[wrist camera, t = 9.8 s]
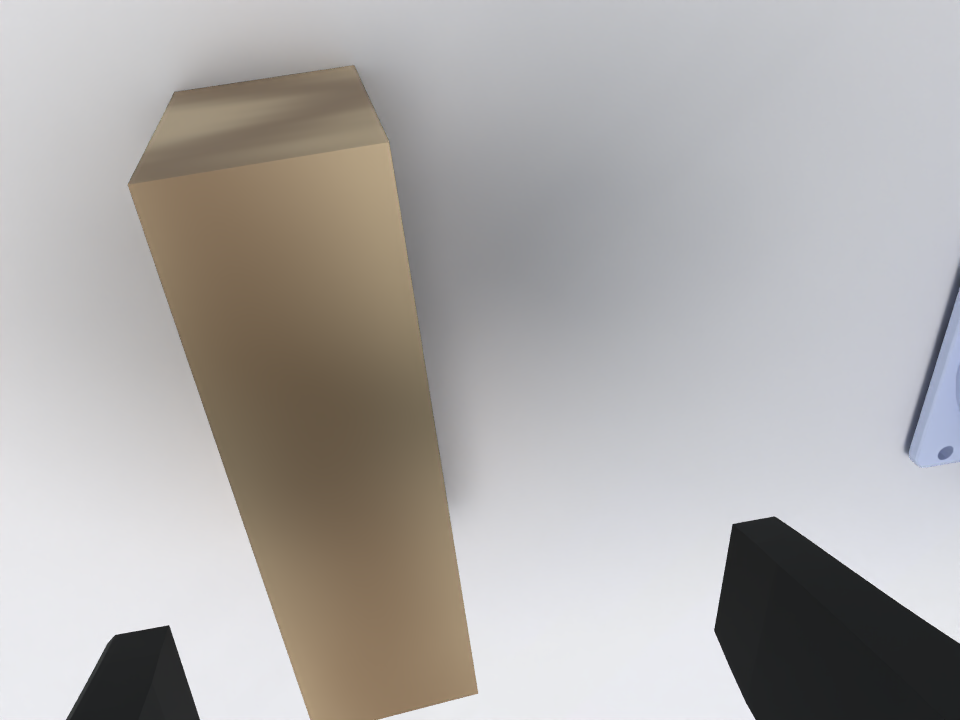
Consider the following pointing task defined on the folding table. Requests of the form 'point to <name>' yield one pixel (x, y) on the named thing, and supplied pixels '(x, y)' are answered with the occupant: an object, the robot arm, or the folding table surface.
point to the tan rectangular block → (313, 378)
